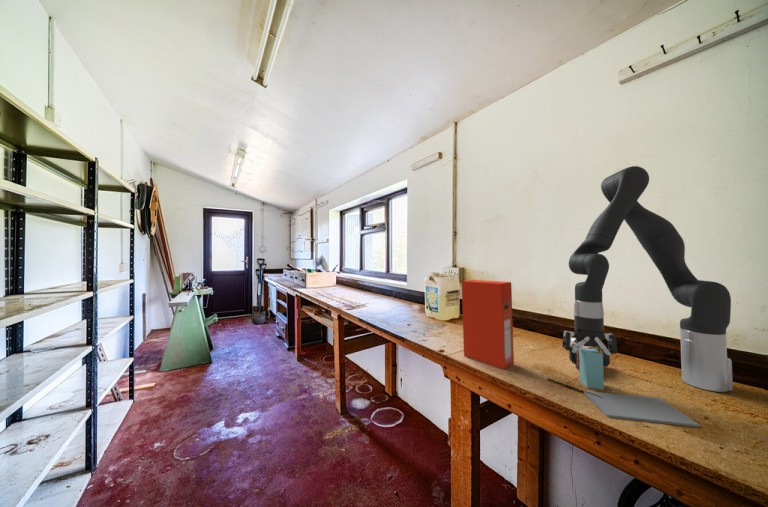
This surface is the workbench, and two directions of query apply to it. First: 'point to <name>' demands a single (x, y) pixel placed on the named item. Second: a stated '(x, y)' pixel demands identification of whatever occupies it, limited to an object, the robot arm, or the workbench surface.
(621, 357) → the workbench surface
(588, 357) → the block
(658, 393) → the workbench surface
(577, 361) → the tin
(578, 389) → the dark brown rod
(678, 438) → the workbench surface
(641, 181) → the robot arm
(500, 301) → the file binder
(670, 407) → the mat
